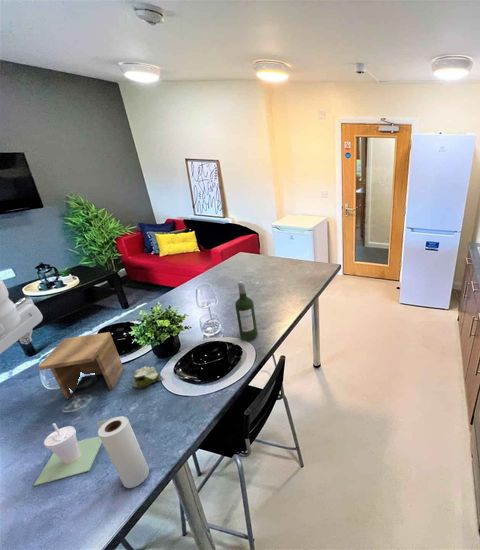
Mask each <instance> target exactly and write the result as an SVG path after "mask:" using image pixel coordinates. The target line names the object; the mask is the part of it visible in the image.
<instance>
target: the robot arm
mask: <svg viewBox="0 0 480 550" xmlns="http://www.w3.org/2000/svg"><path fill="white" fill-rule="evenodd" d="M9 296H10V293H9V290H8V288H7V286H6V284H5V283H4V281H3V279H2V277H0V355H1V354H2V353H4V352H5V351H6V350H8V349H9V348H10V347H11V346H13V345H14V344H15V343H16V342H17V341H19V342H20V344H21V345H29V344H30V343H31V342H32V341H33V338H32V334H33V331H34V330H33V329H34V328H35V327H36V326H38V325H39V324H40V323H41V322H42V321H43V319H44V317H43V314H42V312H41V311H40V310H39V308H38V306H36V305H35V303H34V301H33V299H32V298H31V297H22V298H20V299H18V300H17V301H16V302H13V301H12V300H11V299H10V298H9ZM1 367H2V365H0V368H1Z"/></svg>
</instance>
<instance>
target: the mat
mask: <svg viewBox="0 0 480 550" xmlns="http://www.w3.org/2000/svg"><path fill="white" fill-rule="evenodd" d="M77 442H78V446H79V449H80V453H81V455H80V457H79V458H78V459H77V460H76V461H74V462H72V463H70V464H65V463H63V462H62V461H61V460H60V459H59V458H58V457H57V456H56V455H55V454H54V453H53V452H52V455H51V456H50V458H49V459H48V460H47V463H46V464H45V466H44V467H43V468H42V471H41V472H40V474H39V475H38V477H37V479H36V481H35V482H34V483H33V486H34V487H37V486H40V485H44V484H48V483H51V482H55V481H59V480H62V479H65V478H70V477H73V476H76V475H81V474H84V473H88V472H90V470H91V468H92V466H93V464H94V461H95V459H96V457H97V455H98V452H99V451H100V449H101V447H102V445H103V443H102V441H101V439H100V437H99V435H98V436H93V437H90V438H85V439H81V440H77Z"/></svg>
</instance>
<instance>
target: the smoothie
mask: <svg viewBox="0 0 480 550" xmlns="http://www.w3.org/2000/svg"><path fill="white" fill-rule="evenodd" d="M52 427H53V428H54V431H53V432H51V433H50V434H48V435H47V437H46V438H45V439H44V440H43V445H44V448H46V449H49V450H50V452H52V454H53V453H54V454H55V455H56V456H57V457H58V458H59V459H60V460H61V461H62V462H63V463H65V464H70V463H72V462H74V461H76V460H77V459H78V458H79V457H80V455H81V453H80V449H79V446H78V442H77V441H78V438H77V435H76V433H77V429H75V426H71V425H68V426H64V427H63V426H62V427H60V428H59V427H58V426H57V424H56V423H55V422H53V423H52Z"/></svg>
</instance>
